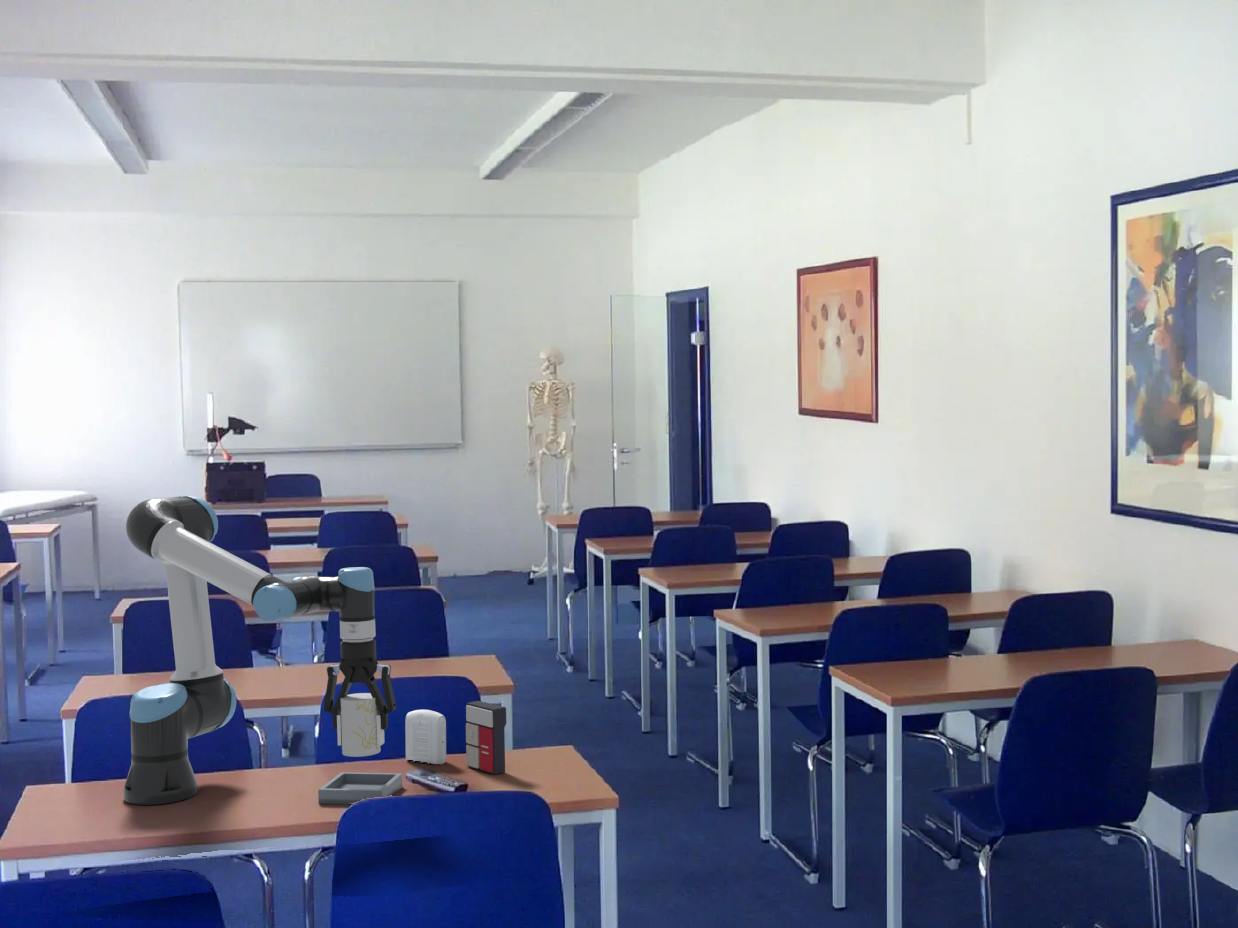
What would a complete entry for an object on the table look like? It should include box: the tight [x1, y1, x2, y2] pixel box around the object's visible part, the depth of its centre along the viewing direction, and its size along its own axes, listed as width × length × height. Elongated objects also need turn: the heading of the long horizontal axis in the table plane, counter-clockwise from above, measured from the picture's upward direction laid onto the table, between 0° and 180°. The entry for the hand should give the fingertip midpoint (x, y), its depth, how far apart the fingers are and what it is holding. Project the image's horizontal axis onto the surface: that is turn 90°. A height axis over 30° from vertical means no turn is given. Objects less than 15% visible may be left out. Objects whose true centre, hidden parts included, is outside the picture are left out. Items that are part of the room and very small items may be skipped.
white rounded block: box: [404, 709, 447, 766], centre depth 309 cm, size 10×4×12 cm, turn 64°
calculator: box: [465, 700, 507, 775], centre depth 301 cm, size 11×4×15 cm, turn 42°
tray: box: [317, 771, 403, 805], centre depth 281 cm, size 14×14×3 cm
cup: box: [340, 692, 382, 758], centre depth 281 cm, size 8×8×12 cm
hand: (361, 743), depth 281 cm, fingers closed on cup, 8 cm apart
